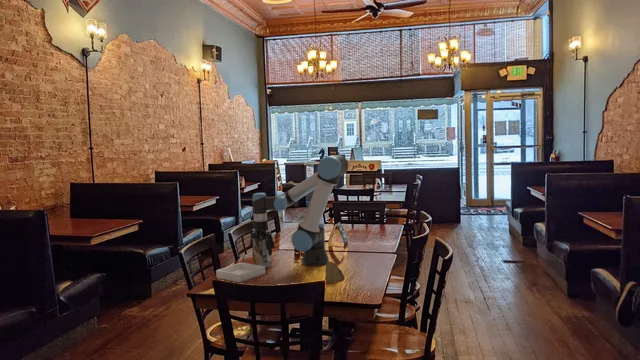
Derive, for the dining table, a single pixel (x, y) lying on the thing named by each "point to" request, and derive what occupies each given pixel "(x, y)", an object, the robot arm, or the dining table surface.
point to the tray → (240, 272)
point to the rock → (333, 273)
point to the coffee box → (260, 252)
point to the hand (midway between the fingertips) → (262, 259)
